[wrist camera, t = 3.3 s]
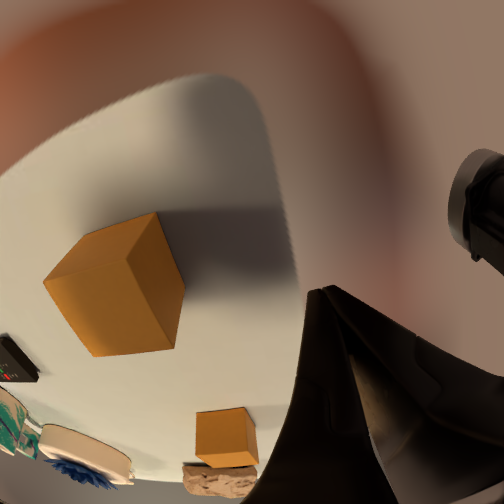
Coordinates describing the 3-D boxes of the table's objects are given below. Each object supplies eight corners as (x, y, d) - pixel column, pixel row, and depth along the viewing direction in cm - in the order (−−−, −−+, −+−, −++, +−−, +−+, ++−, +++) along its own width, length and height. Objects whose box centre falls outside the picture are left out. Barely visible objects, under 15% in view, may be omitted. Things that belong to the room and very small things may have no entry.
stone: (242, 475, 34) (245, 499, 29) (176, 467, 30) (175, 493, 26) (269, 461, 30) (274, 489, 26) (193, 453, 27) (193, 485, 23)
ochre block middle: (196, 412, 21) (194, 455, 17) (244, 407, 21) (248, 451, 17) (212, 431, 23) (212, 468, 19) (255, 425, 23) (259, 464, 19)
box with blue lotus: (17, 450, 19) (96, 493, 28) (77, 472, 18) (161, 506, 27) (27, 418, 25) (100, 467, 34) (86, 429, 24) (162, 474, 33)
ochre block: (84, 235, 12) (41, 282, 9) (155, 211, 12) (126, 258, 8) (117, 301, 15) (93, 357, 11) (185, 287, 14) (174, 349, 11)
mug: (0, 383, 20) (-18, 431, 13) (53, 430, 26) (44, 472, 18) (-21, 380, 20) (-37, 420, 13) (27, 424, 26) (17, 461, 19)
